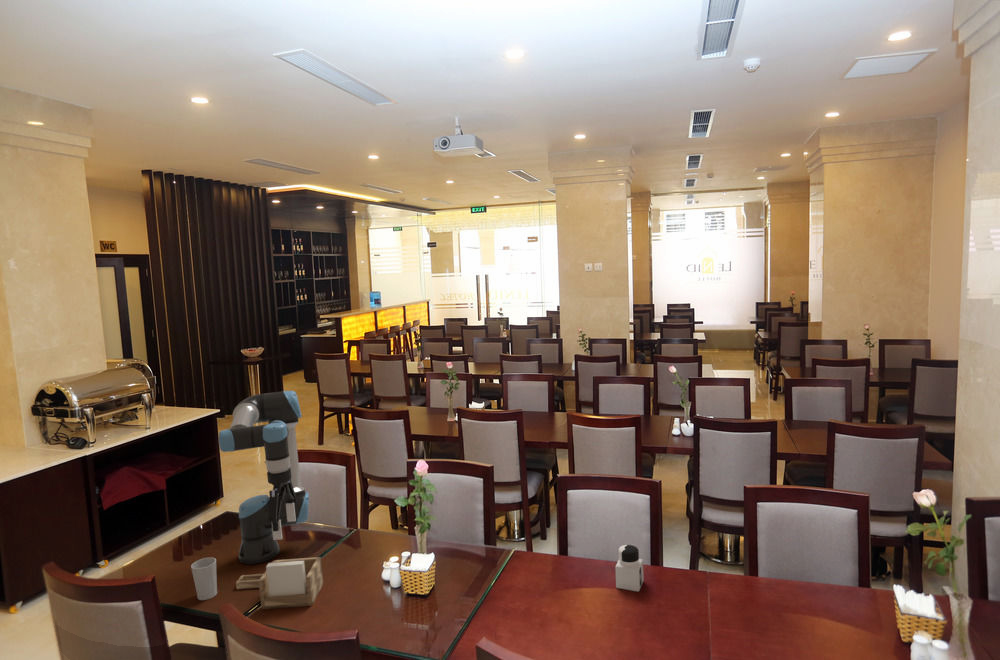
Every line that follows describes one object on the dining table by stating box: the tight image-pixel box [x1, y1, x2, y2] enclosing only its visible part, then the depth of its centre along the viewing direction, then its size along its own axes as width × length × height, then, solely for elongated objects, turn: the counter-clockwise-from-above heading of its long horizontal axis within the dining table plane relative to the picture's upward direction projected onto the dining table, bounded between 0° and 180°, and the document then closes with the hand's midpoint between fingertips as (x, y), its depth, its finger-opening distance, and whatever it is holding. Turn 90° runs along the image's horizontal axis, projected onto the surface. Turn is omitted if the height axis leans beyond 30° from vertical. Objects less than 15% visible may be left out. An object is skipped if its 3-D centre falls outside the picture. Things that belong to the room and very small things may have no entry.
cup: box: [190, 557, 218, 601], centre depth 208 cm, size 8×8×12 cm
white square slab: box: [265, 561, 307, 597], centre depth 200 cm, size 3×12×13 cm, turn 92°
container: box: [615, 544, 644, 592], centre depth 198 cm, size 8×8×13 cm
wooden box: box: [258, 556, 324, 610], centre depth 204 cm, size 14×17×10 cm
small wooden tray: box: [235, 573, 264, 590], centre depth 214 cm, size 5×14×2 cm, turn 92°
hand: (285, 529), depth 199 cm, fingers open, 13 cm apart
